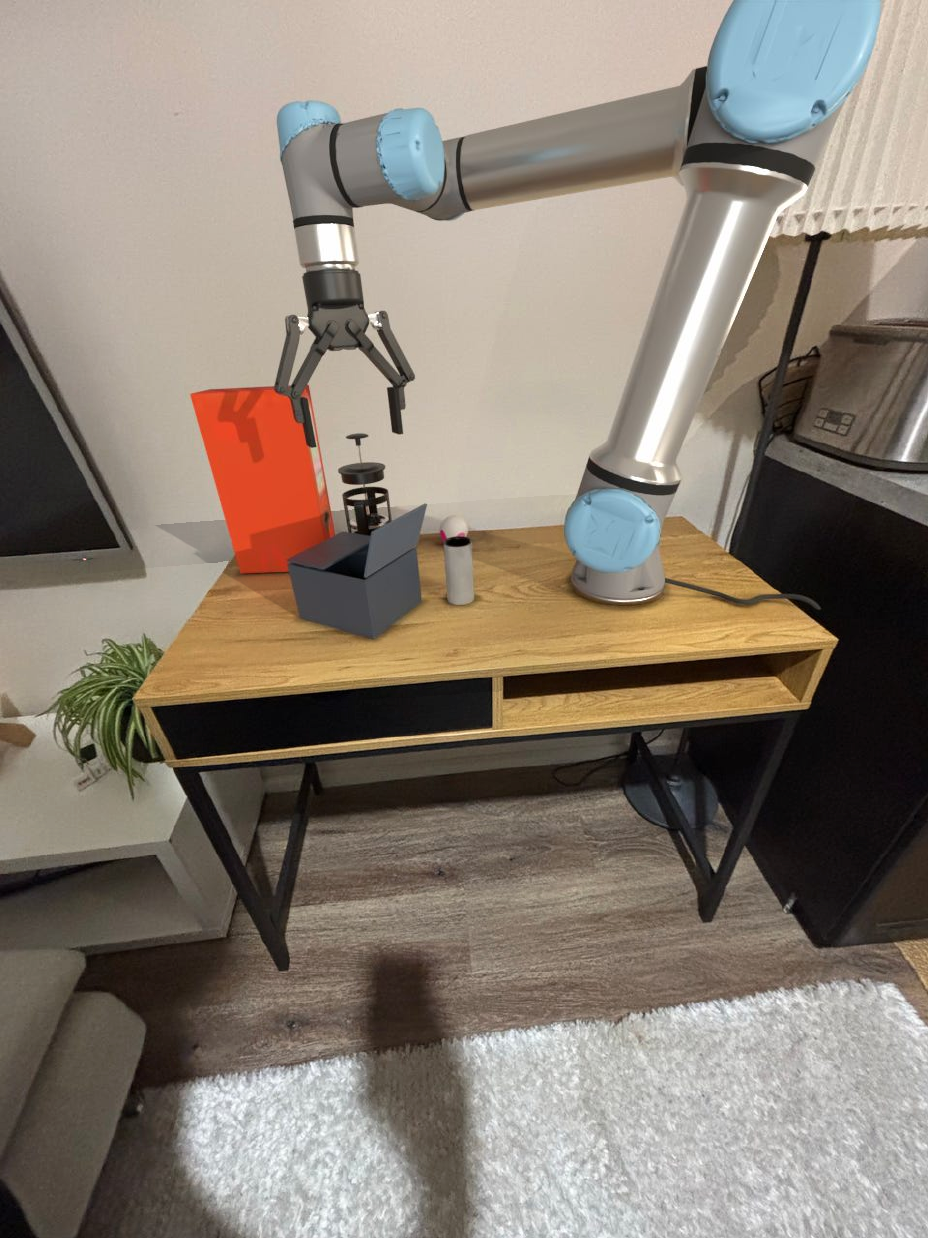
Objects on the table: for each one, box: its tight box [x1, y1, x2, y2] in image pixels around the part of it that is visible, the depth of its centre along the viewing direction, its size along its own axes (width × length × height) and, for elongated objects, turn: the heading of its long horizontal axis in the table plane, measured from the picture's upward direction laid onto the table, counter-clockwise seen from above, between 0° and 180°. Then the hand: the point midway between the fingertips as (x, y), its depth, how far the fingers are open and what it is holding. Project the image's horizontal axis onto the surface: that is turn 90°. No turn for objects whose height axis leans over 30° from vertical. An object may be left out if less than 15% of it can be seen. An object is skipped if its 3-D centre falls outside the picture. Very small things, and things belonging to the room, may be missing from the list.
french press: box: [337, 432, 393, 536], centre depth 100 cm, size 12×9×23 cm
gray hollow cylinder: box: [443, 536, 475, 606], centre depth 83 cm, size 4×4×10 cm
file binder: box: [190, 384, 336, 574], centre depth 94 cm, size 8×17×32 cm, turn 90°
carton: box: [287, 531, 423, 640], centre depth 82 cm, size 15×13×10 cm
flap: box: [364, 502, 428, 578], centre depth 74 cm, size 7×13×1 cm
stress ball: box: [437, 514, 469, 545], centre depth 107 cm, size 8×8×7 cm
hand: (356, 439), depth 78 cm, fingers open, 13 cm apart
